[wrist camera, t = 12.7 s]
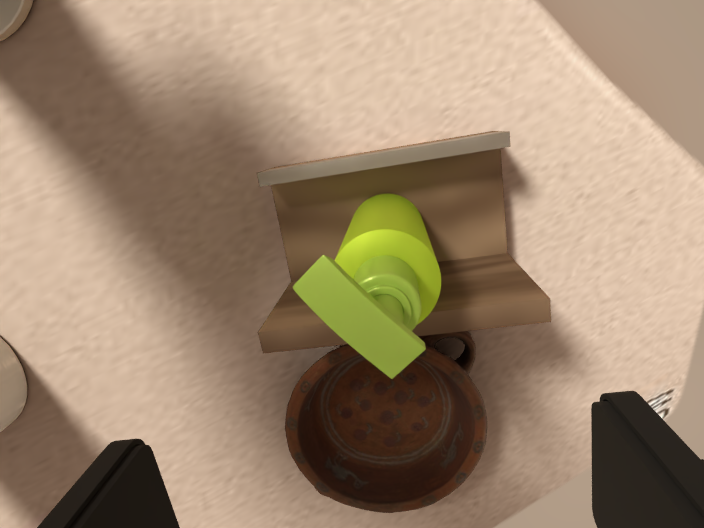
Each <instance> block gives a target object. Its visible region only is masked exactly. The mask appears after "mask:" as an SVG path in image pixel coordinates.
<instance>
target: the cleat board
mask: <svg viewBox="0 0 704 528" xmlns="http://www.w3.org/2000/svg"><path fill="white" fill-rule="evenodd" d="M505 147H510V133H509V132H505V131H491V132H485V133H479V134H473V135H467V136H461V137H455V138H449V139H443V140H437V141H431V142H425V143H419V144H413V145H407V146H401V147H395V148H389V149H383V150H377V151H370V152H364V153H358V154H352V155H346V156H340V157H334V158H328V159H322V160H316V161H310V162H304V163H298V164H292V165H286V166H280V167H274V168H271V169H268V170H265V171H262V172H259V173H257V176H258V181H259V186H260V187H262V186H268V185H271V188H272V192H273V197H274V202H275V206H276V211H277V216H278V220H279V225H280V230H281V234H282V239H283V244H284V248H285V253H286V258H287V263H288V267H289V272H290V277H291V283H290V284H289V286H288V287H287V289H286V290H285V292H284V293H283V295H282V296H281V298H280V300H279V301H278V303H277V304H276V306H275V307H274V309H273V310H272V312H271V313H270V315H269V316H268V318H267V320H266V321H265V323H264V324H263V326H262V327H261V329H260V330H259V332H258V334H259V338H260V343H261V347H262V351H263V353H271V352H280V351H289V350H298V349H307V348H316V347H325V346H334V345H344V344H348V343H347V342H346V341H344V340H343V339H342V338H341V337H340V336H339V335H338V334H336V333H335V332H334V331H333V330H332V329H331V328H330V327H329V326H328V325H327V324H326V323H325V322H324V321H323V320H322V319H321V318H320V317H319V316H318V315H317V314H316V313H315V312H314V311H313V310H312V309H311V308H310V307H309V306H308V305H307V304H306V303H305V302H304V301H303V300H302V299H301V298H300V296H299V295H298V294H297V293H296V292H295V291H294V289H293V286H294V285H295V283H296V282H297V281H298V280H299V279H300V278H301V277H302V276H303V275H304V274H305V273H306V272H307V271H308V270H309V269H310V267H311V266H312V265H313V264H314V263H315V262H316V261H317V260H318V259H319V258H320V257H321V256H322V255H325V256H328V257H330V258H332V259H333V260H334V261H335V258H336V256H337V254H338V251H339V249H340V247H341V244H342V242H343V239H344V237H345V235H346V232H347V230H348V228H349V225H350V223H351V220H352V218H353V216H354V214H355V212H356V210H357V209H358V207H359V206H360V205H361V204H362V203H363V202H364V201H366V200H367V199H369V198H371V197H373V196H375V195H379V194H396V195H399V196H402V197H404V198H406V199H408V200H409V201H410V202H412V203H413V204H414V205H415V207H416V208H417V209H418V211H419V213H420V215H421V217H422V220H423V223H424V225H425V228H426V231H427V234H428V237H429V240H430V242H431V245H432V248H433V251H434V254H435V257H436V260H437V262H438V265H439V269H440V273H441V290H440V295H439V298H438V301H437V303H436V305H435V307H434V308H433V310H432V311H431V313H430V314H429V315H428V316H427V317H426V318H425V319H424V320H423V321H422V322H420V323H419V324H417V325H416V327H415V328H414V329H413V331H412V332H413V333H414V334H416V335H417V336H425V335H434V334H443V333H452V332H461V331H471V330H480V329H489V328H498V327H507V326H516V325H525V324H534V323H543V322H551V310H550V298H549V297H548V296H547V295H546V294H545V293H544V291H543V290H542V289H541V288H540V287H539V286H538V285H537V284H536V283H535V282H534V281H533V280H532V279H531V278H530V277H529V275H528V274H527V273H526V272H525V271H524V270H523V269H522V268H521V267H520V266H519V265H518V264H517V263H516V262H515V260H514V259H513V258H512V257H511V256H510V255H509V254H508V253H507V239H506V225H505V210H504V195H503V180H502V166H501V151H500V148H505Z"/></svg>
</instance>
